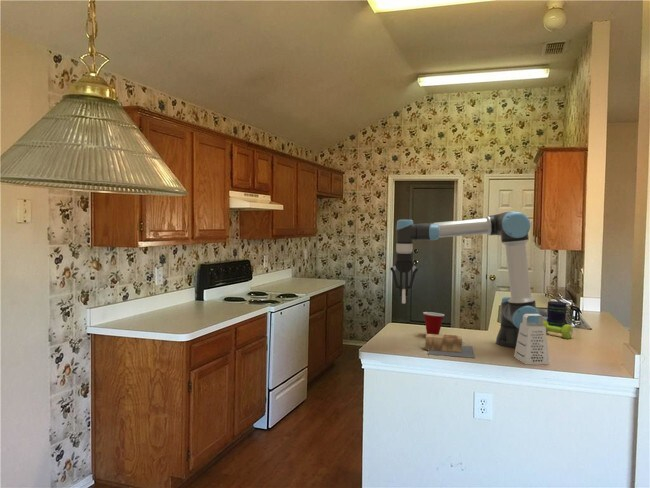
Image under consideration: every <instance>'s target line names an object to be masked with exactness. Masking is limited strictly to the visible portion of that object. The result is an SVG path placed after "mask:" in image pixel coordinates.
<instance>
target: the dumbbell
mask: <svg viewBox="0 0 650 488" xmlns="http://www.w3.org/2000/svg"><path fill="white" fill-rule="evenodd" d="M543 326H546V334H548V333H549V332H550V333H555V334H561V337H562V338H563V339H566V340H569V339H571V338H572V337H573V330H574V329H573V326H572V325H571V324H567V323H566V325H564V326H563V327H562V328H560V327H555V326H549V325H548V322H547V320H543Z"/></svg>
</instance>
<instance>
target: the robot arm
mask: <svg viewBox="0 0 650 488" xmlns="http://www.w3.org/2000/svg"><path fill="white" fill-rule="evenodd" d="M530 229H531V221H530V219H529V217H528V216H527V215H526V214H525V213H523V212H520V211H513V210H512V211H505V212H501V213H498V214H492V215H486V216H485V217H482V218H473V219H471V218H470V219H461V220H450V221H439V222H427V223H424V222H423V223H414V220H413V219H397V221H396V232H395V233H396V235H395V236H396V244H395V245H396V246H395V247H396V251H395V252H396V253H395V255H396V257H395V264H394V265H393V266H391V267H390V268H389V269H390V271H391V272H392V276H393V280H394V285H395V288H397V289H399V296H400V297H401V304H406V302H407V301H406V300H407V299H406V297H408V296H409V289H412V288H413V285H414V280H415V277H416V273H417V272H418V271H419V268H418V267H416V266H415V265H414V263H413V248H414V247H413V246H414V245H413V243H414V242H413V241H431V242H432V241H437V240H439V238H450V237H451V238H452V237H463V236H475V235H487V236H500V240H501V243H502V244H503V245H504V246H505V251H506V252H505V254H506V263H507V273H508V281H509V290H510V297H509V296H507V297H506V296H505V297H502V299H501V303H500V305H501V306H500V308H501V309H500V327H499V330H498V332H497V333H498V334H497V335H496V338H495V339H496V341H495V343H496V344H497V345H500V346H501V347H502V346H503V347H509V348H514V349H516V344H517V338H518V333H519V328H520V323H523V315H524V314H539V315H541V313H540V311H539V310H538V309H537V305H536V304H537V303H536V299H535V298H534V297H533V296H532V292H531V284H530V283H531V282H530V274H529V273H530V272H529V264H528V254H527V246H526V244H527V242H528V241H529V240H530V239H529V232H530ZM396 270H397V271H398V272H399V280H398V277H397V272H396ZM411 270H412V271H413V272H412V275H411V278H410V283H409V273H410V272H411ZM404 275H405V276H404ZM404 277H405V278H404ZM404 280H405V281H404ZM403 281H404V282H403ZM403 283H405V284H403ZM403 285H405V287H404V286H403ZM527 323H538V324H539V316H528V317H527Z"/></svg>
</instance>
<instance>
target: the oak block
mask: <svg viewBox="0 0 650 488" xmlns="http://www.w3.org/2000/svg"><path fill="white" fill-rule="evenodd" d="M462 343H463V338H462V336H461V335H455V334H453V335H452V334H439V335H437V334H427V333H425V345H424V346H425V350H428V351H429V350H437V351H450V352H461V351H462V346H463V345H462Z"/></svg>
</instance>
